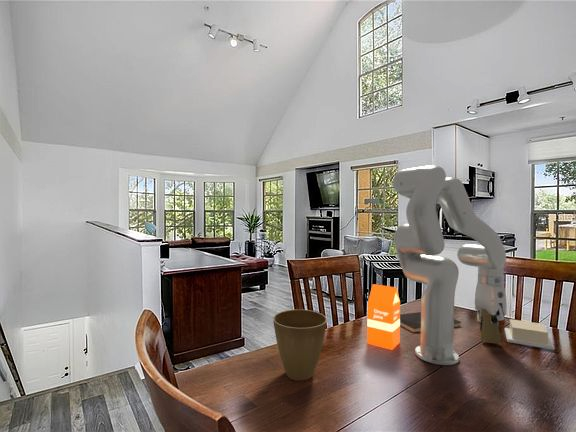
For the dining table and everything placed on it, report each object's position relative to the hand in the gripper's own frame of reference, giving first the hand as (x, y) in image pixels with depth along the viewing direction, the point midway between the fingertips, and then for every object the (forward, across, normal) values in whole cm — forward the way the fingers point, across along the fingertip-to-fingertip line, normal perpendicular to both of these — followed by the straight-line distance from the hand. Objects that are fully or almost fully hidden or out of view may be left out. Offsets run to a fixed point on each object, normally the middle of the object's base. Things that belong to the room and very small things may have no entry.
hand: (488, 332), depth 115 cm
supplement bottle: (+3, +20, -15) cm, 25 cm away
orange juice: (+5, +4, +37) cm, 37 cm away
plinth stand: (+3, +1, -16) cm, 17 cm away
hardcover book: (+4, +22, +11) cm, 25 cm away
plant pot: (+6, -14, +69) cm, 71 cm away
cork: (+2, -2, 0) cm, 3 cm away
